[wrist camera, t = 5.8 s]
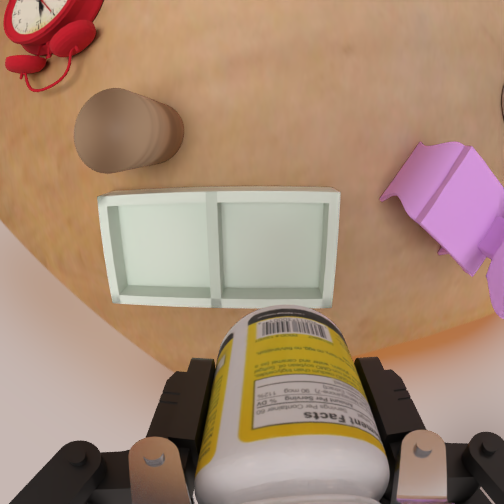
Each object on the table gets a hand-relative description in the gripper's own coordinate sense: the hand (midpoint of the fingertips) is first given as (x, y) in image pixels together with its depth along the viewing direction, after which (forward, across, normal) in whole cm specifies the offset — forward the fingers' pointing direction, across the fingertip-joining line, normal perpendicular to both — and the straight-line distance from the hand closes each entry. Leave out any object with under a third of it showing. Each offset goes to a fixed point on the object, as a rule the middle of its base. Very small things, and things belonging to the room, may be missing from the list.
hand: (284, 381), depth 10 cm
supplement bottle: (+2, 0, 0) cm, 2 cm away
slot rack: (+17, +4, 0) cm, 17 cm away
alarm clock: (+17, +20, -22) cm, 34 cm away
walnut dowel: (+17, +9, -9) cm, 21 cm away
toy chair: (+17, -14, -4) cm, 22 cm away
